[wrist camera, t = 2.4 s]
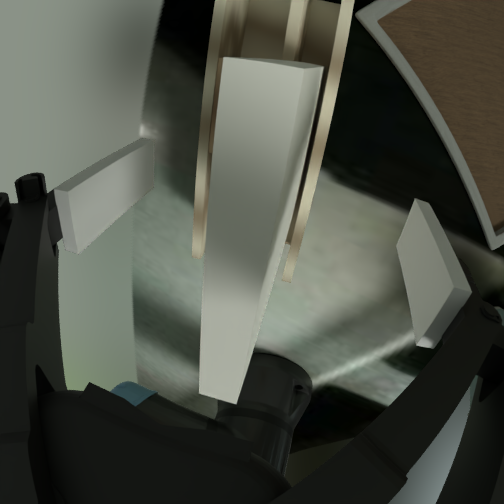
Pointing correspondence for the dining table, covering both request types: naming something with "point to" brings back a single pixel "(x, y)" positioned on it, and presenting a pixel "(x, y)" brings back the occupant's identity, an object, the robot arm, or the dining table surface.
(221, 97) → the tall sheet
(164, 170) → the dining table surface
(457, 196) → the dining table surface
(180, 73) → the dining table surface
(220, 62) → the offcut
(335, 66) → the rack
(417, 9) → the picture frame
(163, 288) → the dining table surface
